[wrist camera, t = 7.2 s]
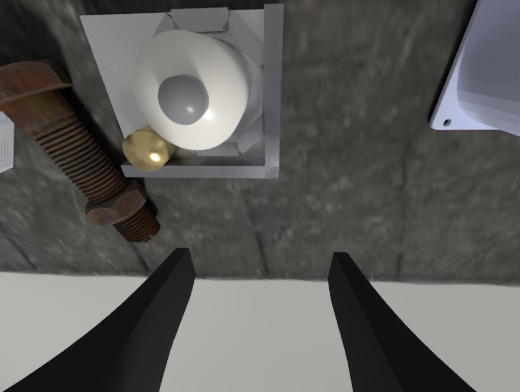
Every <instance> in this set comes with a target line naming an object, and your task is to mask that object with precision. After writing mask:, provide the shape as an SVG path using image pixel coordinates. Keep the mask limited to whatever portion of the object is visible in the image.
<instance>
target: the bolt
mask: <svg viewBox="0 0 520 392" xmlns="http://www.w3.org/2000/svg"><path fill="white" fill-rule="evenodd" d="M72 85H73V83H72V82H71V81H70V79H69V78H68V76H67V75H66V74H65V72H64V71H63V69H62V68H61V67H60V66H59V65H58V64H57V63H55V62H54V61H52V60H49V59H46V60H31V61H23V62H15V63H11V64H8V65H4V66H1V67H0V111H2V112H3V113H4V114H5V115H6V116H7V117H8V118H9V119H10V120H11V121H12V122H13V123H14V124H15V125H16V126H17V127H18V128H19V129H20V130H21V131H22V132H23V133H25V134H26V135H28V136H29V137H30V139H31V140H37V141H36V144H39V145H41V146H40V148H41V149H45V150H44V153H49V154H48V155H47V157H52V158H51V161H56V162H55V165H60V166H59V167H58V168H59V169H63V170H62V173H66V174H65V176H70V177H69V180H73V181H72V183H76V187H79V190H83V191H82V193H83V194H85V197H88V200H90V201H89V202H88V203H87V204H86V207H85V212H86V216H87V217H88V218H89V219H90V220H91V221H92V222H93V223H94V224H95V225H104V226H107V225H113V226H115V228H116V229H117V231H119V232H120V234H122V236H123V237H124V238H125V239H126V240H127V241H128V242H136V243H143V244H147V243H148V242H150V241H151V239H152V238H150V236H149V235H151V236H157V234H158V233H159V230H160V227H161V226H160V224H159V222H158V221H157V219H156V218H155V217H154V216H153V214H152V213H151V212H150V210H149V209H148V208H147V206H146V205H145V204H144V203H145V202H146V200H147V195H146V192H145V190H144V189H143V187H142V186H141V185H140V183H139V182H138V180H133V179H129V180H125V179H124V177H123V176H122V174H121V173H119V172H120V171H119V170H116V169H117V167H114V164H113V163H111V162H112V161H111V160H108V159H109V157H107V156H106V153H102V152H103V149H100V146H99V145H97V142H93V141H94V138H90V137H91V134H87V133H88V130H84V128H85V126H80V125H81V123H82V122H81V121H78V117H77V116H76V114H75V111H74V110H73V108H72V107H71V106H70V104H69V103H68V102H67V100H66V99H65V98H64V96H63V95H62V94H61V92H60V91H61V90H63V89H65V88H68V87H70V86H72Z"/></svg>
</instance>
